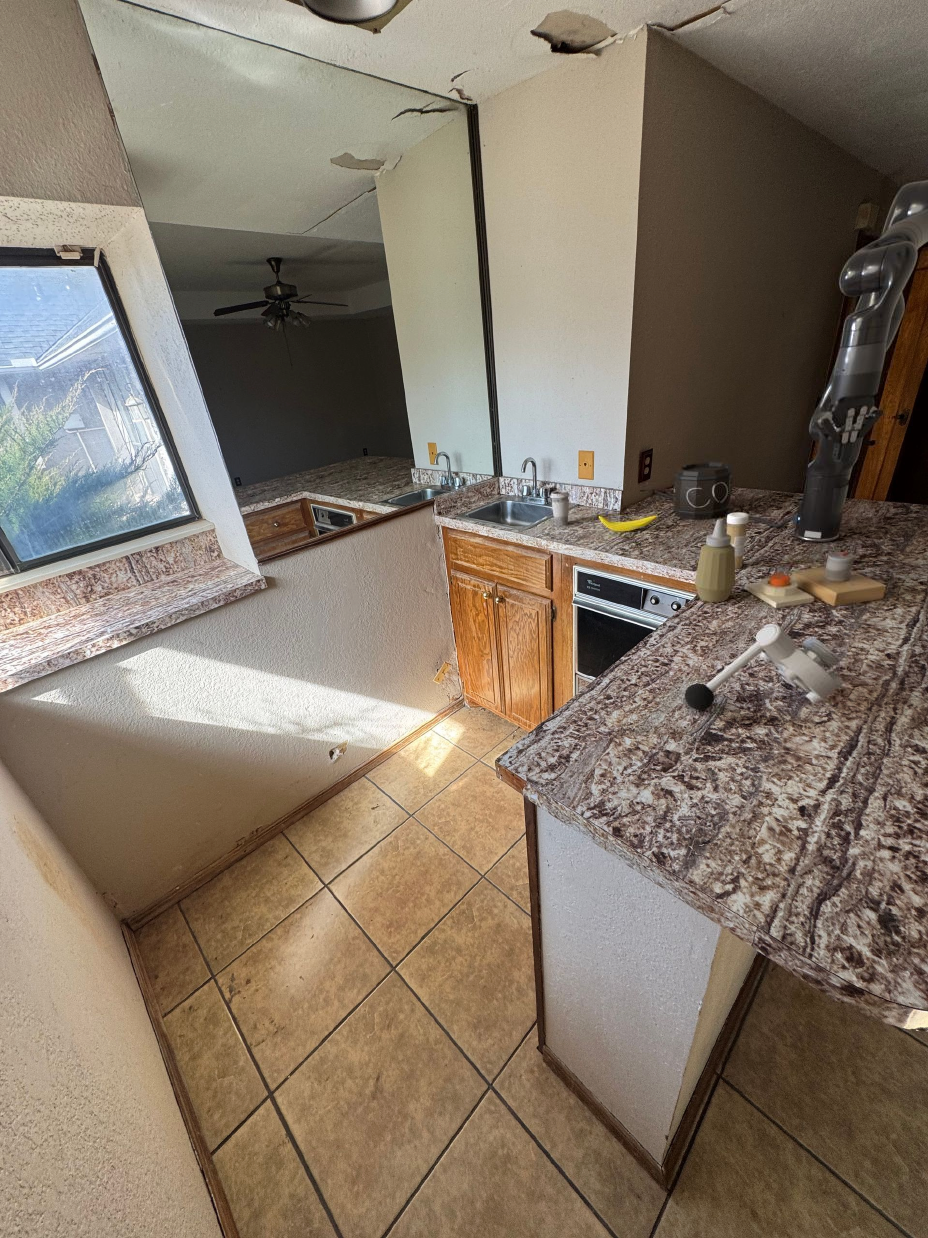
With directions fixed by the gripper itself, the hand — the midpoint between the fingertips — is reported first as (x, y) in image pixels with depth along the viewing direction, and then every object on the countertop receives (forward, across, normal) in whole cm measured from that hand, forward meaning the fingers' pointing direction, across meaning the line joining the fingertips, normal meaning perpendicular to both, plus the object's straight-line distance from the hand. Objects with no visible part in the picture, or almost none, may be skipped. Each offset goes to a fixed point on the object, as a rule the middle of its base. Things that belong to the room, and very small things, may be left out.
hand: (840, 460), depth 102 cm
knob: (+22, -5, -11) cm, 25 cm away
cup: (+25, -44, +71) cm, 87 cm away
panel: (+25, -5, -11) cm, 28 cm away
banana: (+25, -27, +51) cm, 63 cm away
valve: (+25, -41, -42) cm, 64 cm away
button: (+22, -16, -9) cm, 29 cm away
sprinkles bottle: (+25, -15, +10) cm, 31 cm away
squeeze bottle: (+25, -28, -5) cm, 38 cm away
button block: (+25, -16, -9) cm, 31 cm away
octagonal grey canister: (+25, +2, +58) cm, 63 cm away
